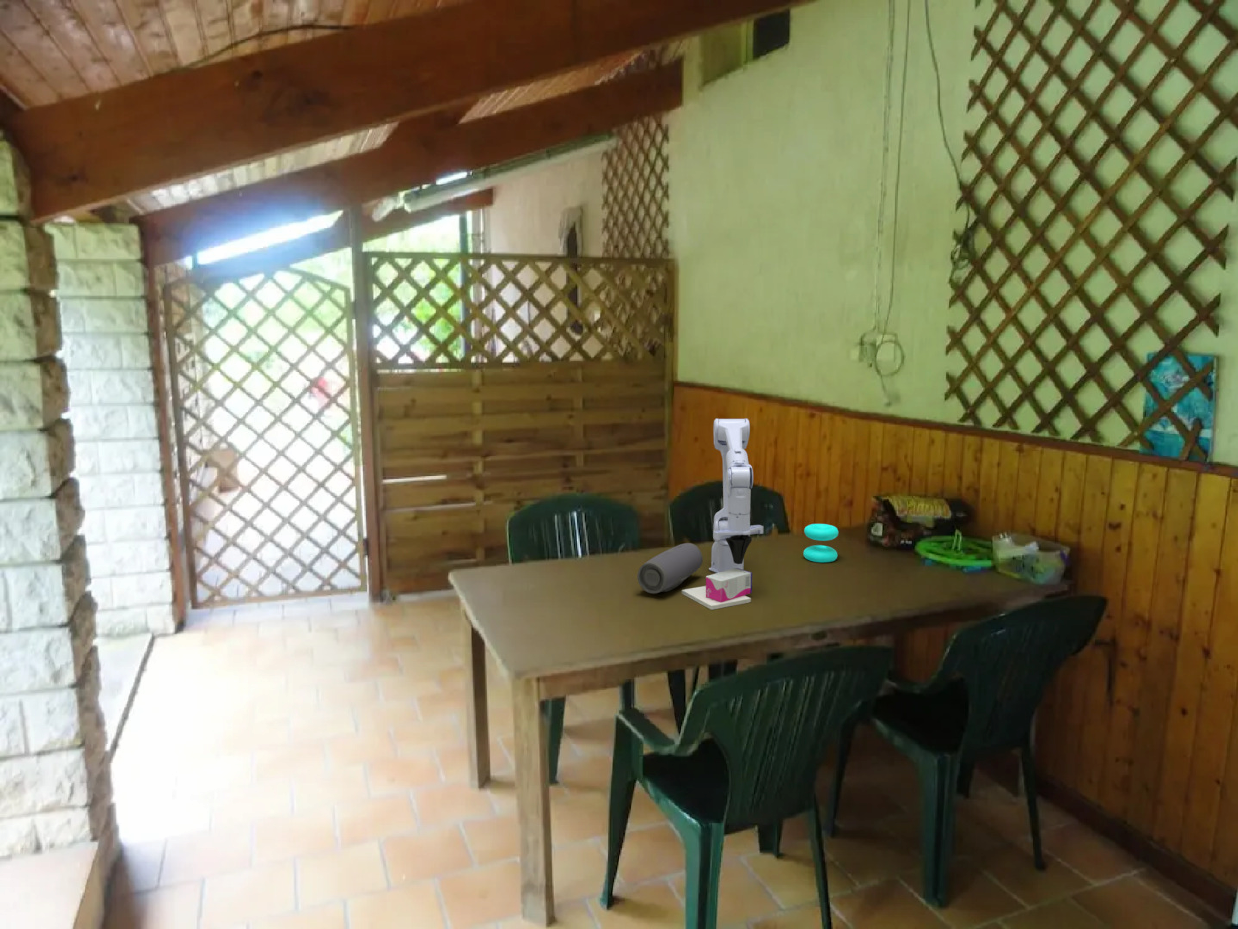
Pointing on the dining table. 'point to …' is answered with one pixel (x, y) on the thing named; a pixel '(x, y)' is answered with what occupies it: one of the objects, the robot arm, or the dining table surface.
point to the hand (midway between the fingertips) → (737, 563)
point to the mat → (700, 597)
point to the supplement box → (728, 584)
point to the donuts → (820, 551)
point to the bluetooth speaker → (669, 568)
